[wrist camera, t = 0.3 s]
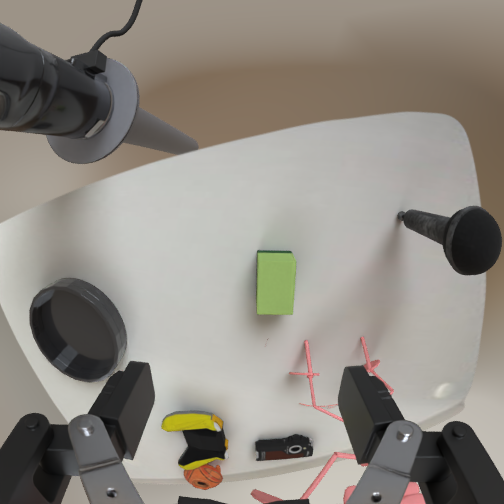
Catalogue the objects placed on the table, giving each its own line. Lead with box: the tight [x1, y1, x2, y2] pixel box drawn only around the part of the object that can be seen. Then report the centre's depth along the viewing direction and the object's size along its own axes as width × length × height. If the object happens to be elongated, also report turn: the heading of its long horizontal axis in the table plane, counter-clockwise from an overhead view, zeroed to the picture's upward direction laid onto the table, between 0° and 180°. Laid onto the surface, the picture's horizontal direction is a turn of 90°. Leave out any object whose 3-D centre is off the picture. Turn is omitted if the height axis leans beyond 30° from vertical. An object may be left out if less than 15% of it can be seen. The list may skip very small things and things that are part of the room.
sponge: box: [256, 250, 296, 315], centre depth 40 cm, size 7×4×5 cm, turn 179°
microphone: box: [398, 206, 502, 275], centre depth 31 cm, size 7×7×20 cm
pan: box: [30, 278, 127, 382], centre depth 42 cm, size 17×17×4 cm
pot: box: [184, 464, 223, 490], centre depth 50 cm, size 8×8×7 cm
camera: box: [255, 435, 313, 461], centre depth 50 cm, size 6×3×11 cm
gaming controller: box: [161, 411, 229, 470], centre depth 47 cm, size 15×6×10 cm
